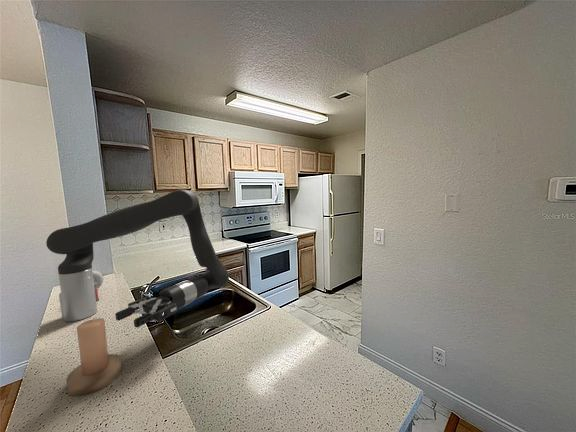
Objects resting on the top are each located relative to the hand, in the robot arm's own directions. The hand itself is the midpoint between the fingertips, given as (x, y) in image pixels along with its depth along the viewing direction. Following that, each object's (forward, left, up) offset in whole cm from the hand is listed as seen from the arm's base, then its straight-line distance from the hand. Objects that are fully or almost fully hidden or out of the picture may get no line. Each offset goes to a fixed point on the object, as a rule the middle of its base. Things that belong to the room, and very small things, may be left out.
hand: (125, 320), depth 62 cm
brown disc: (-3, -7, -10) cm, 13 cm away
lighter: (-46, +33, -11) cm, 58 cm away
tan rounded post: (-2, -7, -8) cm, 11 cm away
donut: (-56, +42, -11) cm, 71 cm away
